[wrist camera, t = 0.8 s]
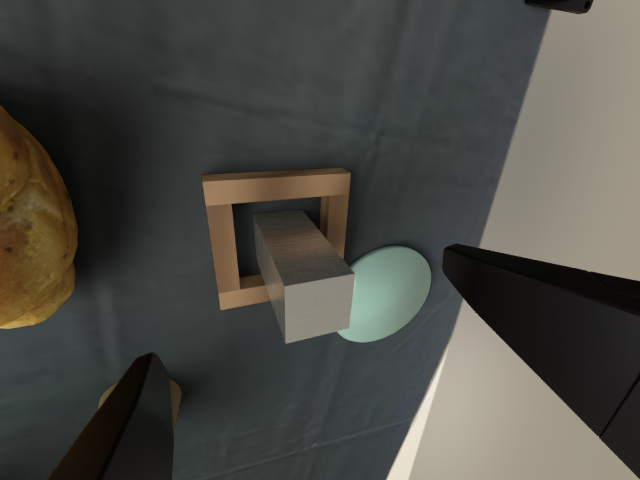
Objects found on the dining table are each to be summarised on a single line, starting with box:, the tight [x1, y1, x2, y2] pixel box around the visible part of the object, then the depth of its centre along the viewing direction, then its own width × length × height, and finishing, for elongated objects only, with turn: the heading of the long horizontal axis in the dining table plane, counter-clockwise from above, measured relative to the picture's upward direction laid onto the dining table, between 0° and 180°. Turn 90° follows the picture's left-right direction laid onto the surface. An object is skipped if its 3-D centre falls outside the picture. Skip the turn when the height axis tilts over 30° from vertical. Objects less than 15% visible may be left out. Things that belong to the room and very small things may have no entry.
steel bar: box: [253, 209, 355, 344], centre depth 19 cm, size 4×4×9 cm
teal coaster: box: [337, 245, 431, 342], centre depth 29 cm, size 11×11×1 cm
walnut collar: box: [202, 168, 351, 310], centre depth 22 cm, size 10×10×2 cm
